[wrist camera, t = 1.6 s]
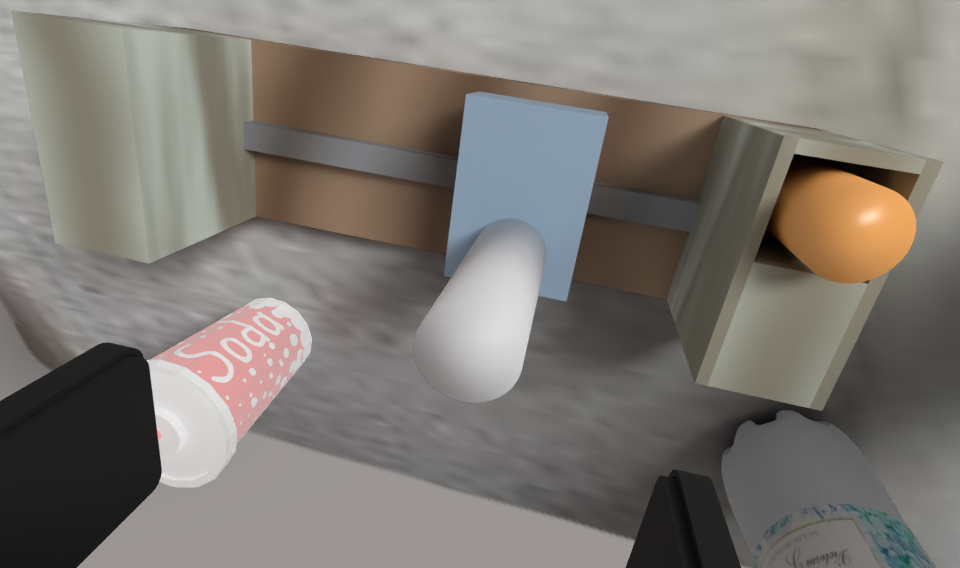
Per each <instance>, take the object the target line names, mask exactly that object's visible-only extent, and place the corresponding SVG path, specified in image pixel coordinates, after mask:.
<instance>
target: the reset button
mask: <svg viewBox="0 0 960 568" xmlns="http://www.w3.org/2000/svg"><path fill="white" fill-rule="evenodd" d="M766 230H767V231H768V232H770V233H771V234H772V235H773V236H774V237H775V238H776V239H777V240H778V241H780V242H781V243H782V244H783V245H784V246H785V247H786V248H787V249H788V250H790V251H791V252H792V253H793V254H794V255H795V256H796V257H797V258H798V259H800V260H801V261H802V262H803V263H804V264H805V265H806V266H807V267H808V268H809V269H811V270H812V271H813V272H814V273H815V274H817V275H818V276H820V277H822V278H824V279H826V280H829V281H832V282H836V283H846V284H851V283H860V282H865V281H868V280H871V279H874V278H876V277H879V276H881V275H883V274H885V273H886V272H888V271H889V270H891V269H892V268H893V267H895V266H896V265H897V264H898V263H899V262H900V261H901V260H902V259H903V258H904V257H905V255H906V254H907V253H908V251H909V249H910V248H911V246H912V243H913V241H914V238H915V234H916V218H915V214H914V211H913V209H912V207H911V205H910V204H909V202H908V201H907V200H906V199H905V198H904V197H903V196H901V195H900V194H899V193H897V192H895V191H893V190H891V189H889V188H886V187H884V186H881V185H879V184H876V183H873V182H871V181H868V180H866V179H863V178H861V177H858V176H856V175H853V174H851V173H848V172H846V171H843V170H841V169H838V168H836V167H833V166H831V165H828V164H826V163H823V162H820V161H816V160H800V161H795V162H791V163H790V166H789V169H788V171H787V174H786V177H785V179H784V182H783V185H782V187H781V190H780V193H779V195H778V198H777V201H776V203H775V206H774V209H773V211H772V214H771V217H770V219H769V222H768V225H767V228H766Z"/></svg>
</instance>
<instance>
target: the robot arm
mask: <svg viewBox="0 0 960 568" xmlns="http://www.w3.org/2000/svg"><path fill="white" fill-rule="evenodd" d="M161 474H162V467H161V459H160V450H159V442H158V434H157V426H156V417H155V409H154V401H153V393H152V385H151V376H150V368H149V364H148V362H147V361H146V360H145V359H144V358H143V354H142V353H141V352H140V350H137V349H135V348H131V347H126V346H122V345H117V344H113V343H102V344H99V345H97V346H95V347H93V348H92V349H90V350H88V351H86V352H85V353H83V354H81V355H79V356H78V357H76V358H74V359H72V360H71V361H69V362H67V363H66V364H64V365H62V366H60V367H59V368H57V369H55V370H53V371H52V372H50V373H48V374H47V375H45V376H43V377H41V378H39V379H38V380H36V381H34V382H32V383H31V384H29V385H27V386H26V387H24V388H22V389H20V390H19V391H17V392H15V393H14V394H12V395H10V396H8V397H6V398H5V399H3V400H1V401H0V568H77V567H78V566H79V565H80V564H81V563H82V562H83V561H84V560H85V559H86V558H87V557H88V556H89V555H90V554H91V553H92V552H93V551H94V550H95V549H96V548H97V547H98V546H99V545H100V544H101V543H102V542H103V541H104V540H105V539H106V538H107V537H108V536H109V535H110V534H111V533H112V532H113V531H114V530H115V529H116V528H117V527H118V526H119V525H120V524H121V523H122V522H123V521H124V520H125V519H126V518H127V517H128V516H129V515H130V514H131V513H132V512H133V511H134V510H135V509H136V508H137V507H138V506H139V505H140V504H141V503H142V502H143V501H144V500H145V499H146V498H147V497H148V496H149V495H150V494H151V493H152V492H153V491H154V489H155V488H156V487H157V485H158V483H159V481H160V478H161ZM626 568H741V566H740V563H739V560H738V557H737V554H736V551H735V548H734V545H733V542H732V539H731V536H730V533H729V530H728V527H727V524H726V521H725V518H724V515H723V512H722V509H721V506H720V503H719V500H718V497H717V494H716V491H715V488H714V485H713V483H712V481H711V479H710V478H709V477H706V476H701V475H697V474H692V473H688V472H684V471H679V470H673V471H672V472H671V473H670V475H669V477H665V476H659V477H658V479H657V481H656V484H655V487H654V490H653V492H652V495H651V498H650V501H649V504H648V507H647V509H646V512H645V515H644V518H643V521H642V523H641V526H640V529H639V532H638V535H637V537H636V540H635V543H634V546H633V549H632V552H631V554H630V558H629V560H628V563H627V566H626Z"/></svg>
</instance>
